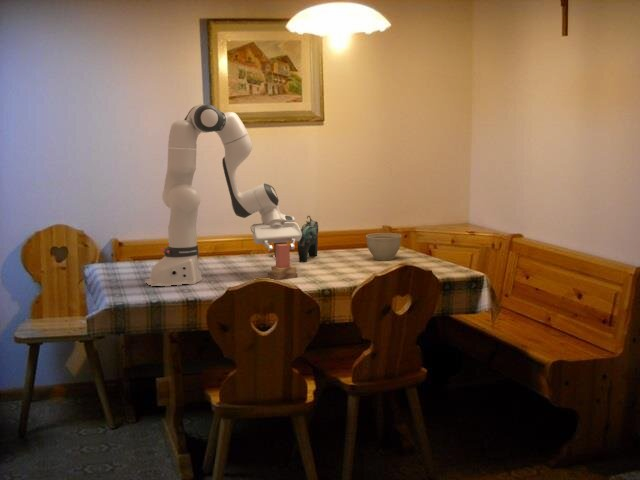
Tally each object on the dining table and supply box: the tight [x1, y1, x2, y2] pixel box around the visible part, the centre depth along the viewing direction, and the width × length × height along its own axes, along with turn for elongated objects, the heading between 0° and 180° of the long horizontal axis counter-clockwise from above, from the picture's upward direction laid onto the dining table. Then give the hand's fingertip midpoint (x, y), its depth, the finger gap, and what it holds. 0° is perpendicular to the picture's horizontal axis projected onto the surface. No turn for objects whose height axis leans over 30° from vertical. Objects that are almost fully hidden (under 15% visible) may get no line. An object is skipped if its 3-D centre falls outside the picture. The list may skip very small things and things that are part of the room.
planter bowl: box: [365, 232, 402, 261], centre depth 350 cm, size 16×16×11 cm
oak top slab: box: [270, 264, 297, 275], centre depth 312 cm, size 8×8×2 cm
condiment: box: [268, 242, 288, 259], centre depth 362 cm, size 7×8×12 cm
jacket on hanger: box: [297, 215, 319, 263], centre depth 353 cm, size 20×6×20 cm, turn 162°
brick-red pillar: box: [275, 244, 291, 268], centre depth 311 cm, size 4×4×9 cm
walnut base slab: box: [267, 271, 299, 281], centre depth 313 cm, size 9×9×2 cm
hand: (281, 249), depth 311 cm, fingers open, 8 cm apart
